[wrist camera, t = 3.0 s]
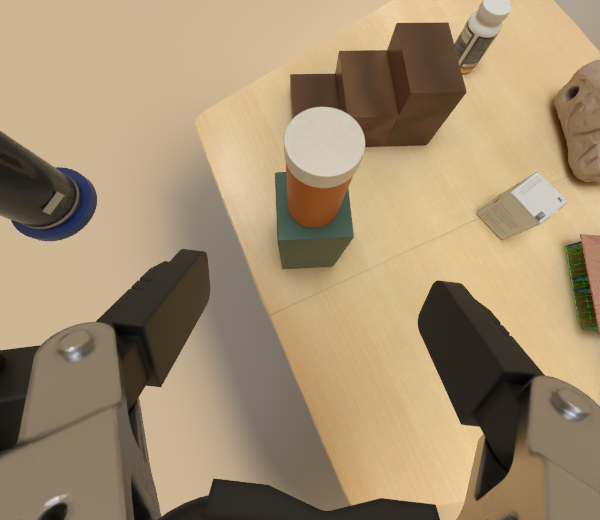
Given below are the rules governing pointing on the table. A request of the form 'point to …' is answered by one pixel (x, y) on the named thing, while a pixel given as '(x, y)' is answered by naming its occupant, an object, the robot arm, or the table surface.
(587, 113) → the decorative stone
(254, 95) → the table surface
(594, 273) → the house
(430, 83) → the riser
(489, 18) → the pill bottle
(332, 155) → the amber bottle
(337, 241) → the stand
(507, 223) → the product carton
